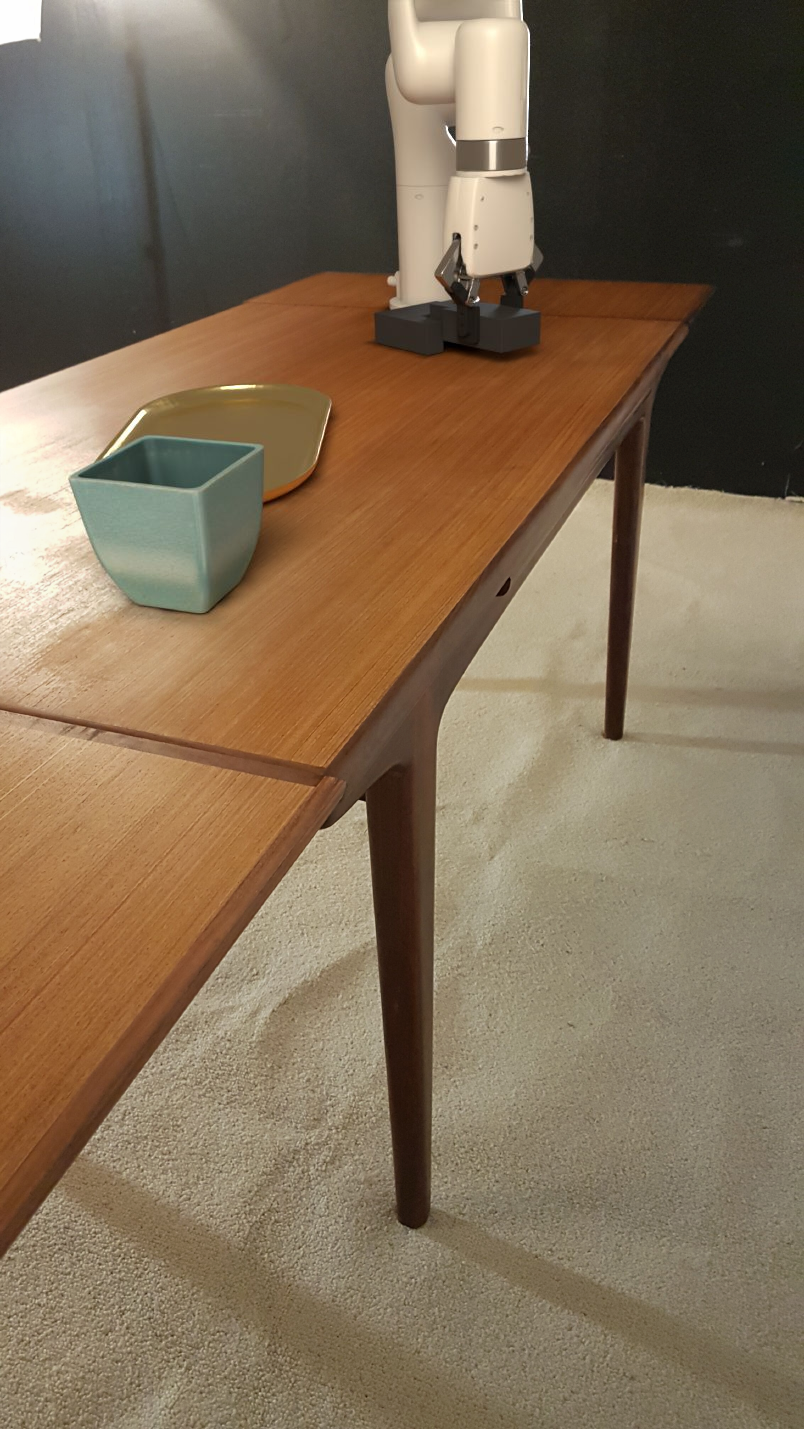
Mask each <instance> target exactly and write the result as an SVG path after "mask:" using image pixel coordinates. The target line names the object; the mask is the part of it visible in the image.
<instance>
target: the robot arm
mask: <svg viewBox="0 0 804 1429" xmlns="http://www.w3.org/2000/svg"><path fill="white" fill-rule="evenodd" d="M387 23H388V33H389V42H390V53H389V55H388V57H387V60H386V64H385V69H384V70H385V71H384V82H385V83H384V84H385V91H386V92H385V93H386V97H387V103H388V110H389V116H390V121H391V128H392V137H393V145H394V146H393V149H394V150H393V151H394V162H395V163H394V164H395V165H394V167H395V188H396V190H395V191H396V214H397V215H396V220H397V222H396V223H397V246H398V250H397V251H398V270H397V271H395V273H394V275H390V276H388V277H387V280H386V283H387V285H388V286H389V287H395V288H396V289H395V290H396V296H394V297H391V298H390V299H389V304H388V305H389V306H388V307H389V310H392V309H397V308H402V307H407V306H413V305H418V304H423V303H428V302H433V301H440V302H442V301H447V300H451V301H452V303H453V304H457V339H458V341H462V342H467V343H472V344H476V343H478V342H479V340H480V308H479V306H477V305H475V302H480V297H479V296H478V295H479V291H480V287H481V282H482V281H483V280H482V279H483V278H484V279H485V278H489V277H495V276H500V279H501V283H502V287H503V291H504V293H502V294H500V299H499V302H500V303H499V305H504V306H510V307H516V308H522V309H524V297H527V296H528V294H529V286H530V284H531V283H532V281H533V280H534V278H535V274H536V272H537V271H538V269H539V268H540V266H541V264H542V263H543V261H544V255H543V253H542V252H541V249H539V247H538V246H537V244H536V243H535V215H534V214H535V213H534V199H533V190H532V181H531V176H530V171H528V158H529V157H530V156H531V151H532V150H531V146H530V145H529V143H528V135H529V134H528V133H529V132H528V130H529V90H530V89H529V88H530V87H529V86H530V46H531V44H530V42H531V41H530V30H529V27H528V24H527V23H526V22H525V21H524V20H523V0H387ZM450 127H455V140H454V138H453V137H452V135H451V133H449V130H448V129H449V128H450Z"/></svg>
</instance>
